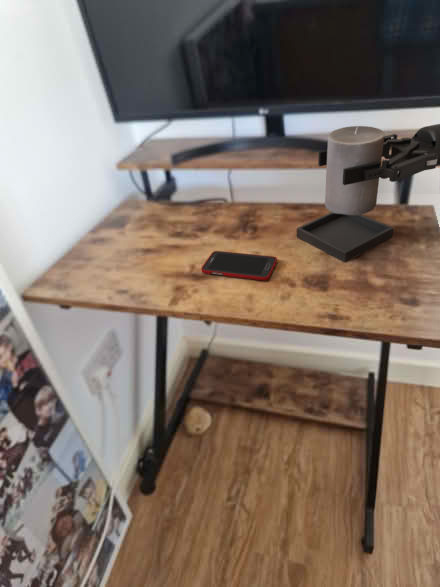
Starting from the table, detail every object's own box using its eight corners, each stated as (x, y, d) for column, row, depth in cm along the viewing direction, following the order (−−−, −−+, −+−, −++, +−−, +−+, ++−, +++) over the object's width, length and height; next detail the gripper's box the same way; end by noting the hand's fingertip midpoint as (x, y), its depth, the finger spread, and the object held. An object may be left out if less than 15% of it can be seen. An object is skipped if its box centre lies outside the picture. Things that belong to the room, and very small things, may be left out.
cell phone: (268, 282, 79) (268, 278, 78) (200, 273, 84) (199, 269, 84) (278, 260, 84) (278, 256, 84) (213, 254, 90) (213, 250, 89)
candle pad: (392, 237, 87) (394, 227, 85) (344, 262, 81) (345, 253, 80) (342, 215, 97) (342, 206, 96) (296, 237, 92) (296, 228, 90)
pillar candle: (358, 190, 84) (366, 115, 75) (386, 209, 77) (398, 127, 68) (315, 201, 83) (318, 125, 74) (339, 221, 75) (345, 139, 66)
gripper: (478, 184, 70) (359, 210, 68) (403, 147, 88) (306, 167, 85) (490, 140, 66) (363, 167, 63) (409, 110, 83) (307, 131, 81)
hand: (330, 167), depth 74 cm, fingers closed on pillar candle, 9 cm apart
